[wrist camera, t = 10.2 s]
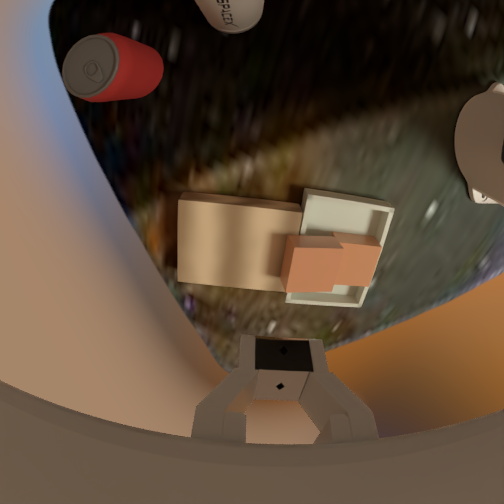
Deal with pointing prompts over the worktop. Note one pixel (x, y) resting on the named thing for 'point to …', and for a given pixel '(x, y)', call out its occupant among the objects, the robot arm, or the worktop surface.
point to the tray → (346, 221)
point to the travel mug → (232, 14)
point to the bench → (234, 240)
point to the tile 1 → (310, 263)
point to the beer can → (111, 68)
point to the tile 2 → (357, 259)
